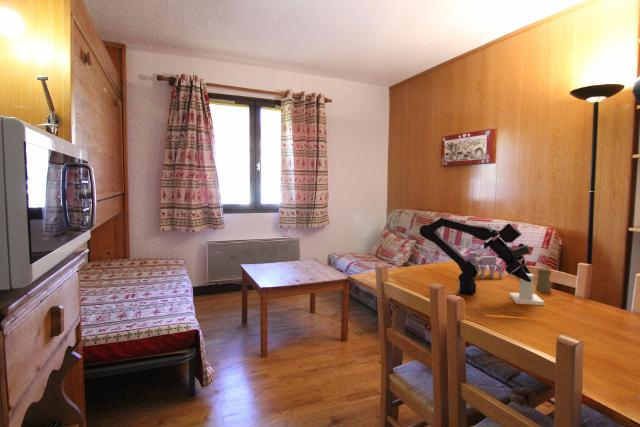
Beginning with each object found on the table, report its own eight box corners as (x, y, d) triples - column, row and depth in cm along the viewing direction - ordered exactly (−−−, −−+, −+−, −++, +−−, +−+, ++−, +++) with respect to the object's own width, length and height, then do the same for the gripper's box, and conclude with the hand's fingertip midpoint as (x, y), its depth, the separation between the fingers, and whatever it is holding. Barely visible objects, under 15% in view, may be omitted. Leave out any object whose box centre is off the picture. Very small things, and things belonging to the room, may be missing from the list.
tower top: (516, 303, 142) (516, 299, 142) (509, 295, 152) (509, 292, 152) (544, 305, 140) (544, 301, 140) (535, 297, 149) (535, 294, 149)
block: (519, 297, 145) (519, 274, 144) (520, 294, 149) (521, 272, 148) (531, 299, 143) (532, 276, 142) (532, 296, 146) (533, 274, 146)
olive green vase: (553, 294, 155) (554, 270, 154) (538, 293, 156) (539, 269, 156) (547, 290, 161) (548, 267, 160) (533, 289, 162) (534, 266, 161)
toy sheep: (467, 279, 180) (467, 253, 180) (458, 275, 191) (457, 250, 190) (504, 278, 182) (504, 252, 181) (492, 274, 192) (492, 249, 192)
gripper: (515, 241, 138) (547, 272, 133) (519, 235, 154) (548, 262, 149) (493, 258, 143) (523, 289, 138) (498, 251, 159) (525, 278, 154)
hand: (530, 278), depth 144 cm, fingers open, 9 cm apart
